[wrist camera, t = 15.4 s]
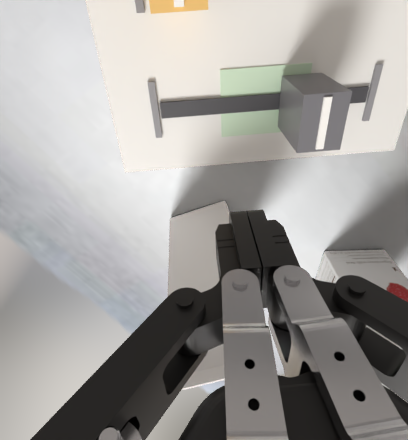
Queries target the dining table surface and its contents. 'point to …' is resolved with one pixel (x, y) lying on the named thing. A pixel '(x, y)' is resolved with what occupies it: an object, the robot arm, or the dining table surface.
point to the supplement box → (365, 271)
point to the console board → (245, 75)
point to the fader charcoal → (313, 112)
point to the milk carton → (197, 271)
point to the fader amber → (177, 5)
